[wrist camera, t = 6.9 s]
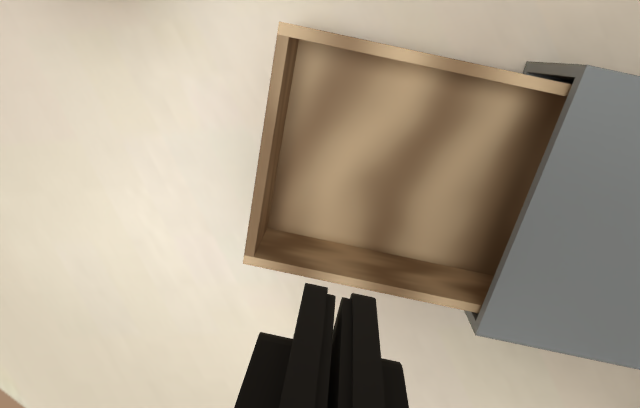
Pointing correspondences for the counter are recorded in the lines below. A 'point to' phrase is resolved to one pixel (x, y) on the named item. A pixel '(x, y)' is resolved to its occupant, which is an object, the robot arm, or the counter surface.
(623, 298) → the sleeve
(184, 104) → the counter surface
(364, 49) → the tray
